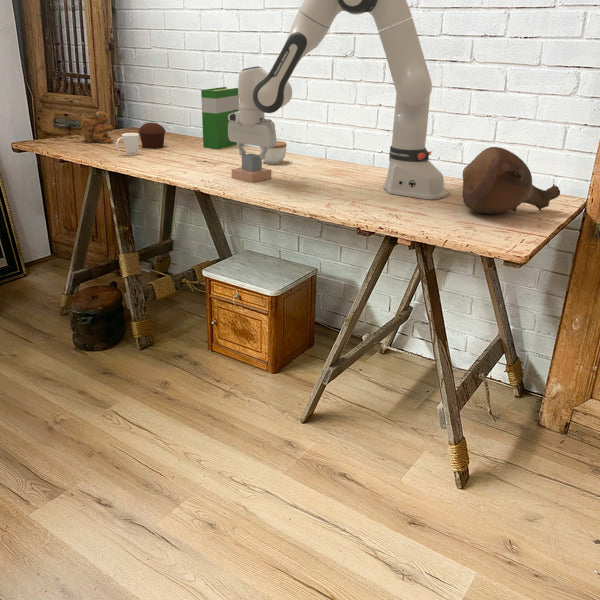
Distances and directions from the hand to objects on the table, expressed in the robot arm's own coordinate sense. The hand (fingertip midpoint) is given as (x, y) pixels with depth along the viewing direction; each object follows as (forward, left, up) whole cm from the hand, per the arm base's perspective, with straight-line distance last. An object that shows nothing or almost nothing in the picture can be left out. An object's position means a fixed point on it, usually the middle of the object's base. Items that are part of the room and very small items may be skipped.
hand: (252, 157), depth 219 cm
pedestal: (0, 0, -7) cm, 7 cm away
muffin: (+70, -12, -8) cm, 72 cm away
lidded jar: (+12, -25, -8) cm, 29 cm away
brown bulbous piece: (-85, -21, -8) cm, 88 cm away
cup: (+63, +6, -8) cm, 64 cm away
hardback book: (+52, -36, -8) cm, 64 cm away
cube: (0, 0, -4) cm, 4 cm away
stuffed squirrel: (+96, -2, -8) cm, 96 cm away
